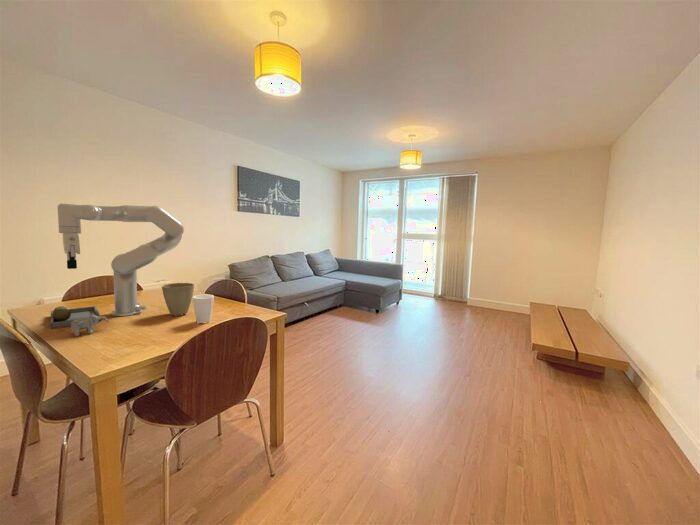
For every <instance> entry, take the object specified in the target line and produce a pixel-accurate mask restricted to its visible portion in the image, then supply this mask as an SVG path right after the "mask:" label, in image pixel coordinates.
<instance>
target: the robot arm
mask: <svg viewBox="0 0 700 525" xmlns="http://www.w3.org/2000/svg"><path fill="white" fill-rule="evenodd" d="M81 220H83V221H89V222H90V221H91V222H92V221H93V222H99V221H100V222H101V221H103V222H105V221H106V222H123V223H152V224H154V225H155V226H156V227H157V228H159V229H160V230H162V231H163V232H164V234H163V235H161V236H159V237H157V238H156V239H153V240H151V241H150V242H146V243H144V244H141V245H139V246H138V247H136V248H134V249H132V250H130V251H127V252H125V253H120V254H118V255H116V256H114V258H113V259H112V261H111V263H110V265H111V269H112V270H113V294H114V296H113V297H114V298H113V299H114V310H112V311H111V312H110V315H111V316H114V317H126V316H127V317H128V316H134V315H137V314H140V313H141V312H142V311H145V310H147V305H146V304H145V305H143V304H142V305H141V304H140V302H138V286H137V285H138V284H137V283H138V277H137V276H138V275H137V274H138V273H137V271H138V270H139V269H141V268H143V267H145V266H148V265H150V264H152V263H154V261H155V260H156V259H157V258H158V257H159V256H161V255H163V254H166V253H167V252H169V251H171V250H173V249H174V248H176V247H177V246H178V245H179V243H180V242H181V240H182V237H183V234H184V232H185V227H184V225H183V224H182V223H181V222H180V221H178V219H176V218H174V217H173V216H172V215H171V214H169V213H168V212H167V211H165V209H163V207H160V206H157V205H151V206H150V205H128V204H127V205H126V204H125V205H117V206H115V205H114V206H113V205H112V206H111V205H109V206H108V205H107V206H105V205H104V206H103V205H92V204H74V203H59V204H58V205H57V221H58V223H57V224H58V233H59V234H62V246H63V252H64V254H66V259H67V260H66V267H67V269H68V270H69V269H70V270H73V269H78V266H77V265H78V264H77V255H80V254H81V247H80V246H81V245H80V236H79V235H81V234H82V229H81V228H82V226H81Z"/></svg>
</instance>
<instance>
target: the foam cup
mask: <svg viewBox="0 0 700 525" xmlns="http://www.w3.org/2000/svg"><path fill="white" fill-rule="evenodd" d="M214 300H215V296H214V294H209V293H205V294H204V293H203V294H196V295H193V296H192V304H193V310H194V311H193V312H194V317H195V321H197V322H198V323H197V322H196V323H197V324H199V323H204V322H209V321H210V320H212V313H213V306H214ZM210 322H211V321H210ZM210 322H209V323H210ZM204 324H205V323H204Z"/></svg>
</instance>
